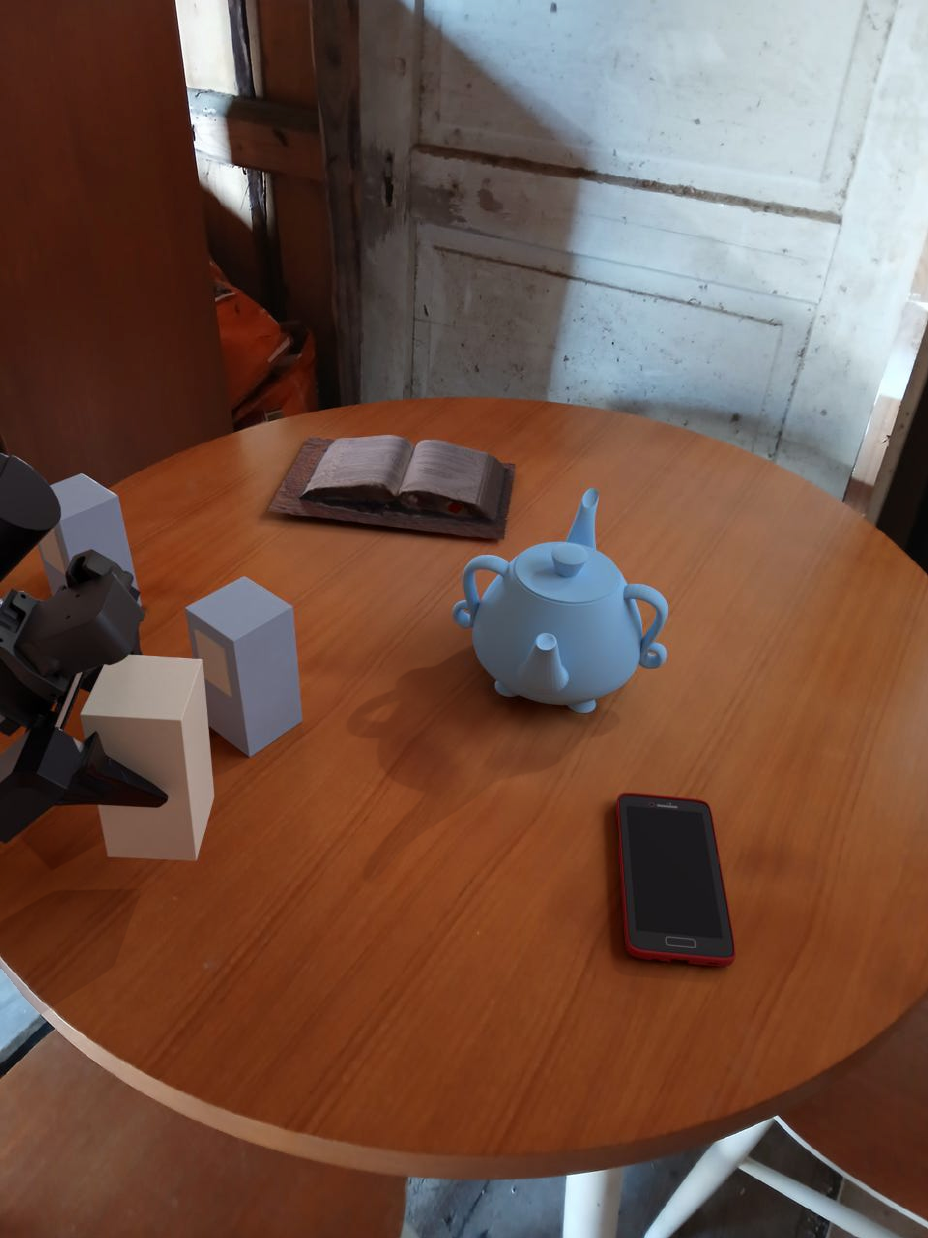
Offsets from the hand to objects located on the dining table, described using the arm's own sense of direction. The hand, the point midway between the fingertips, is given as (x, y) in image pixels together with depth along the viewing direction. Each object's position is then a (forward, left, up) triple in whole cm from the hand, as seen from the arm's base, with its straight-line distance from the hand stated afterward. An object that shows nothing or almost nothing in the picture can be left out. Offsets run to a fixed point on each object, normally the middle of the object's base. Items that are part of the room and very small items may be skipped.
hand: (175, 760), depth 60 cm
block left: (-2, +36, -12) cm, 38 cm away
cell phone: (+33, -14, -12) cm, 38 cm away
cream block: (-2, +1, -7) cm, 7 cm away
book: (+35, +47, -12) cm, 59 cm away
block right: (+8, +14, -12) cm, 20 cm away
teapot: (+36, +10, -12) cm, 39 cm away
